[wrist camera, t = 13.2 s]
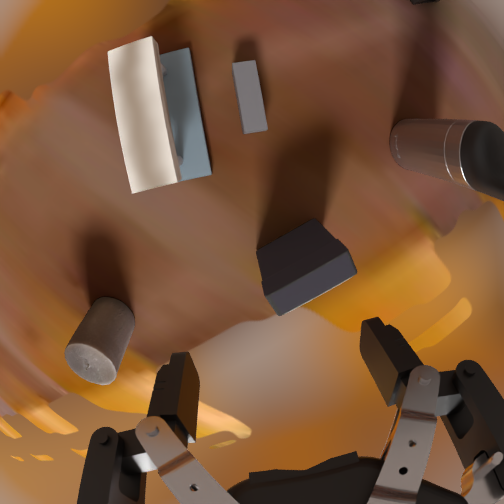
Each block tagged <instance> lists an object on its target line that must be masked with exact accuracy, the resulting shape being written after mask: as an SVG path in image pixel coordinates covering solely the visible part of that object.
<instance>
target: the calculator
mask: <svg viewBox="0 0 504 504" xmlns="http://www.w3.org/2000/svg"><path fill="white" fill-rule="evenodd" d="M256 254H257V259H258V263H259V267H260V272H261V276H262V280H263V281H262V287H263V292H264V296H265V297H266V299H267V300H268V302H269V303H270V305H271V306H272V308H273V309H274V311H275V312H276V314H277V315H278V316H281V315H284V314H286V313H288V312H290V311H292V310H294V309H296V308H298V307H299V306H301V305H303V304H305V303H307V302H309V301H311V300H312V299H314V298H316V297H318V296H320V295H321V294H323V293H325V292H327V291H329V290H330V289H332V288H334V287H336V286H337V285H339V284H341V283H343V282H344V281H346V280H348V279H349V278H351V277H353V276H354V275H355V274H357V269H356V267H355V265H354V262H353V260H352V257H351V255H350V253H349V250H348V249H347V248H346V247H345V246H344V245H343V244H342V243H341V242H340V241H339V240H338V239H335V238H334V237H333V236H332V235H331V234H330V233H329V232H328V231H327V230H326V229H325V228H324V227H323V226H322V225H321V224H320V223H319V222H318V221H317V220H316V219H312V220H310V221H308V222H306V223H305V224H303V225H301V226H299V227H297V228H296V229H294V230H292V231H290V232H289V233H287V234H285V235H283V236H281V237H280V238H278V239H276V240H274V241H273V242H271V243H269V244H267V245H266V246H264V247H262V248H260V249H258V250H257V251H256Z"/></svg>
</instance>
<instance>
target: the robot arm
mask: <svg viewBox="0 0 504 504" xmlns="http://www.w3.org/2000/svg"><path fill="white" fill-rule="evenodd" d="M390 148H391V152H392V155H393V157H394V159H395V161H396V162H397V163H398V164H399V165H400V166H401V167H402V168H405V169H407V170H411V171H415V172H418V173H422V174H425V175H429V176H432V177H436V178H439V179H442V180H446V181H449V182H452V183H455V184H458V185H461V186H464V187H467V188H470V189H473V190H476V191H479V192H482V193H485V194H487V195H490V196H492V197H495V198H497V199H499V200H502V201H504V132H503V131H502V130H501V129H500V128H499V127H498V126H497V125H496V124H494V123H491V122H487V121H476V120H457V119H404V120H401V121H399V122H398V123H397V124H396V125H395V126H394V128H393V129H392V132H391V136H390ZM360 352H361V355H362V358H363V360H364V361H365V363H366V365H367V367H368V369H369V371H370V373H371V375H372V377H373V379H374V380H375V382H376V384H377V386H378V388H379V390H380V392H381V394H382V396H383V398H384V400H385V402H386V404H387V406H388V407H389V406H391V405H394V404H396V406H397V408H398V409H397V412H396V415H395V418H394V421H393V425H392V427H391V430H390V433H389V436H388V439H387V442H386V444H385V447H384V449H383V451H382V454H381V456H380V458H374V457H363V456H361V457H358V455H357V452H356V451H355V452H352V453H348V454H345V455H341V456H338V457H334V458H330V459H328V460H326V461H324V462H322V463H320V464H318V465H316V466H314V467H311V468H309V469H307V470H278V469H275V470H268V471H260V472H251V473H249V479H246V480H244V481H241V482H239V483H237V484H236V485H234V486H232V487H231V488H230V489H228V490H227V491H225V490H224V489H223V488H222V487H221V486H220V484H219V483H217V481H216V480H215V479H214V478H213V477H212V476H211V475H210V474H209V473H208V472H207V471H206V470H205V469H204V468H203V466H202V465H201V464H200V463H199V462H198V461H197V460H196V459H195V457H194V456H193V455H192V454H191V453H190V452H189V451H188V450H187V445H188V443H195V442H196V428H197V414H198V401H199V388H200V381H199V376H198V373H197V370H196V368H195V366H194V363H193V360H192V358H191V356H190V353H189V352H180V353H172V355H171V359H170V363H169V364H167V365H163V366H162V367H161V369H160V370H159V371H158V373H157V376H156V380H155V384H154V388H153V389H154V391H153V392H152V397H151V401H150V405H149V410H148V414H147V417H146V418H144V419H143V420H141V421H140V422H139V423H138V425H137V426H136V428H135V429H132V430H128V431H124V432H119V433H117V432H116V431H115V430H114V429H112V428H110V427H102V428H100V429H97V430H96V431H95V432H94V433H93V434H92V436H91V439H90V444H89V447H88V451H87V456H86V460H85V465H84V469H83V474H82V479H81V484H80V489H79V495H78V500H77V504H145V488H146V475H147V471H152V470H156V469H158V471H159V472H158V474H159V475H160V477H161V478H162V480H163V481H164V483H165V484H166V485H167V487H168V488H169V489H170V491H171V492H172V493H173V495H174V496H175V497H176V498H177V500H178V501H179V502H180V503H181V504H495V503H496V502H498V501H500V500H501V499H503V498H504V399H503V398H502V396H501V395H500V393H499V392H498V390H497V389H496V387H495V386H494V384H493V383H492V382H491V380H490V379H489V377H488V376H487V374H486V373H485V372H484V370H483V369H482V368H481V366H480V365H479V364H478V363H476V362H475V361H472V360H464V361H462V362H460V363H459V364H458V365H457V367H456V370H452V371H444V372H438V371H437V370H436V369H435V368H433V367H431V366H428V365H424V364H423V363H422V362H421V361H420V359H419V358H418V356H417V355H416V353H415V352H414V351H413V349H412V348H411V346H410V345H409V344H408V342H407V341H406V340H405V339H404V338H403V336H402V334H401V333H400V332H399V330H398V329H396V328H394V327H393V326H391V325H386V326H385V325H384V324H383V322H382V321H381V320H380V318H379V317H375V318H371V319H367V320H364V321H362V325H361V336H360ZM436 416H440V417H441V419H442V421H443V423H444V425H445V427H446V429H447V431H448V433H449V435H450V437H451V440H452V442H453V444H454V446H455V448H456V450H457V452H458V455H459V457H460V459H461V461H462V464H463V466H464V468H465V470H464V472H463V473H462V476H461V488H462V491H461V495H460V494H458V493H456V492H453V491H450V490H448V489H445V488H443V487H440V486H438V485H436V484H433V483H431V482H429V481H426V480H424V479H422V477H423V474H424V471H425V468H426V464H427V461H428V457H429V454H430V450H431V446H432V441H433V437H434V432H435V428H436V423H437V417H436Z"/></svg>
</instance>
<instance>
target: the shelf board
mask: <svg viewBox="0 0 504 504" xmlns="http://www.w3.org/2000/svg"><path fill="white" fill-rule="evenodd" d="M108 60H109V69H110V78H111V86H112V93H113V100H114V106H115V113H116V119H117V124H118V130H119V135H120V141H121V146H122V150H123V155H124V160H125V165H126V169H127V173H128V178H129V182H130V186H131V190H132V194H133V193H136V192H140V191H144V190H148V189H152V188H156V187H160V186H164V185H168V184H172V183H177V182H178V181H180V180H181V179H182V177H181V172H180V167H179V163H178V158H177V153H176V148H175V143H174V138H173V133H172V127H171V122H170V117H169V111H168V105H167V100H166V94H165V88H164V82H163V75H162V69H161V62H160V55H159V48H158V43H157V42H156V41H155V39H154V38H153V37H152V36H151V37H147V38H144V39H141V40H138V41H135V42H132V43H129V44H126V45H124V46H121V47H118V48H116V49H113V50H111V51H108Z"/></svg>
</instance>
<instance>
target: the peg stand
mask: <svg viewBox="0 0 504 504" xmlns="http://www.w3.org/2000/svg"><path fill="white" fill-rule="evenodd" d="M160 62H161V69H162V75H163V82H164V88H165V94H166V100H167V105H168V111H169V117H170V122H171V127H172V133H173V138H174V143H175V148H176V153H177V158H178V163H179V167H180V172H181V177H182V179H181V180H180V181H184V180H188V179H193V178H198V177H202V176H207V175H212V170H211V165H210V160H209V154H208V149H207V144H206V139H205V133H204V128H203V122H202V117H201V111H200V106H199V100H198V94H197V89H196V83H195V77H194V71H193V65H192V59H191V53H190V49H189V48H185V49H181V50H177V51H173V52H169V53H165V54H161V55H160ZM180 181H178V182H180Z"/></svg>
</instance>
